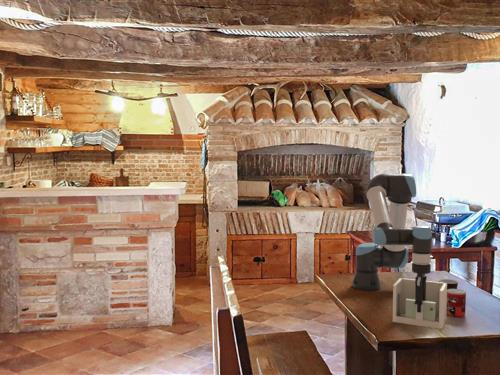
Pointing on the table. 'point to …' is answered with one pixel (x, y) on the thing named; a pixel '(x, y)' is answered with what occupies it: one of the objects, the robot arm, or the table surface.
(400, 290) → the cabinet
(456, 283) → the coffee mug
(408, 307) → the door
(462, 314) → the canned food
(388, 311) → the table surface
